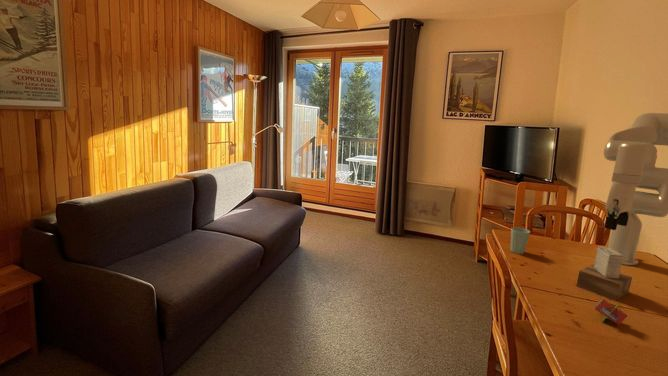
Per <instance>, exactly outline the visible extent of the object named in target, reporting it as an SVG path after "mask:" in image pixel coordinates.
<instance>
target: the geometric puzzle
mask: <svg viewBox="0 0 668 376" xmlns="http://www.w3.org/2000/svg"><path fill="white" fill-rule="evenodd" d="M608 301H611V299H609V300H608ZM608 301H607V299H606V300H605V299H604V298H603V299H601V300H599V301H597V302H596V304H595V308H594V310H595V311H596V312H598V313H599V314H600V316H601V317H600V316H599V315H598V314H597V316H599V317H600V320H601V323H604V322H605V319H607V320H608V323H611V322H612V323H613V324H614V325H617V326H620V324H622V322H623V321H624V320H625V319H626V318H627V317H628V315H627V313H626V311H625V309H623V310H624V311H625V312H624V311H623V310H621V309H620V307H621V306H622V304H621V302H620V301H619V302H617V305H614V303H611V302H608ZM619 304H620V307H618V305H619ZM622 307H623V306H622ZM602 316H603V317H604V319H602V318H603V317H602Z"/></svg>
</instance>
